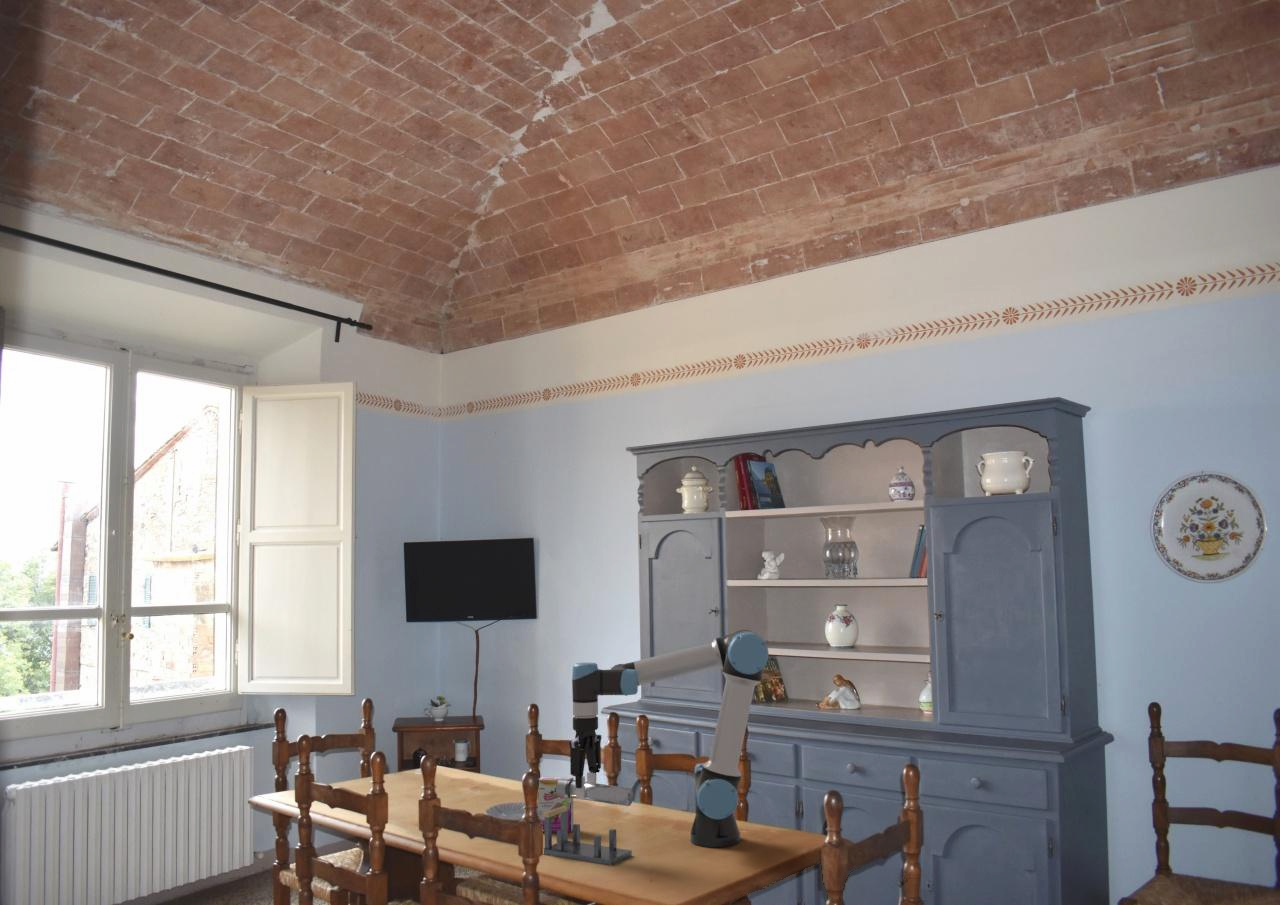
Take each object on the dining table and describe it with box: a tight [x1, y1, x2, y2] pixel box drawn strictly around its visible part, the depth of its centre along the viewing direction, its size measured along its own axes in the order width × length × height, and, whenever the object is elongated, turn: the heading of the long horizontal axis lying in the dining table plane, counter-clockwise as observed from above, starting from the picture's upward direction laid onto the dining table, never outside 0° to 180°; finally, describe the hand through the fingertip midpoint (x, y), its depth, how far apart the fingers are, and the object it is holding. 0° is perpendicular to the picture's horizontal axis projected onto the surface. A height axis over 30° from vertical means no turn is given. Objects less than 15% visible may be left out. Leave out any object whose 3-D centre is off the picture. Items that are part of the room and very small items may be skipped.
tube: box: [556, 779, 634, 807], centre depth 297 cm, size 24×5×5 cm, turn 58°
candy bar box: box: [538, 776, 575, 834], centre depth 325 cm, size 11×5×16 cm, turn 84°
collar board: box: [543, 806, 633, 866], centre depth 297 cm, size 24×11×12 cm, turn 58°
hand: (586, 797), depth 298 cm, fingers closed on tube, 5 cm apart
